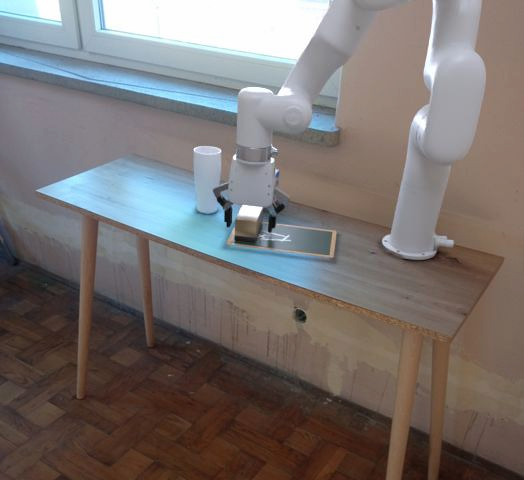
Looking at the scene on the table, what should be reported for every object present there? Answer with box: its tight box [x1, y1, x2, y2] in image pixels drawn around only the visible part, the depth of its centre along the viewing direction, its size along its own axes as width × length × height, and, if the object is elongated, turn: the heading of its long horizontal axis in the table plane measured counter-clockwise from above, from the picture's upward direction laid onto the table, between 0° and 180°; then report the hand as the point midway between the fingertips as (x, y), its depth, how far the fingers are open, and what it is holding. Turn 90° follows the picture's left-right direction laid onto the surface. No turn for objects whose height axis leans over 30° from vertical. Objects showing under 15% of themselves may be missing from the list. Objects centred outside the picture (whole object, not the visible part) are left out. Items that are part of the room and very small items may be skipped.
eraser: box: [234, 205, 264, 243], centre depth 127 cm, size 5×10×5 cm, turn 171°
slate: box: [225, 221, 338, 259], centre depth 129 cm, size 24×15×1 cm, turn 81°
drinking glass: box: [192, 145, 222, 215], centre depth 136 cm, size 7×7×15 cm
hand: (249, 227), depth 128 cm, fingers open, 9 cm apart
